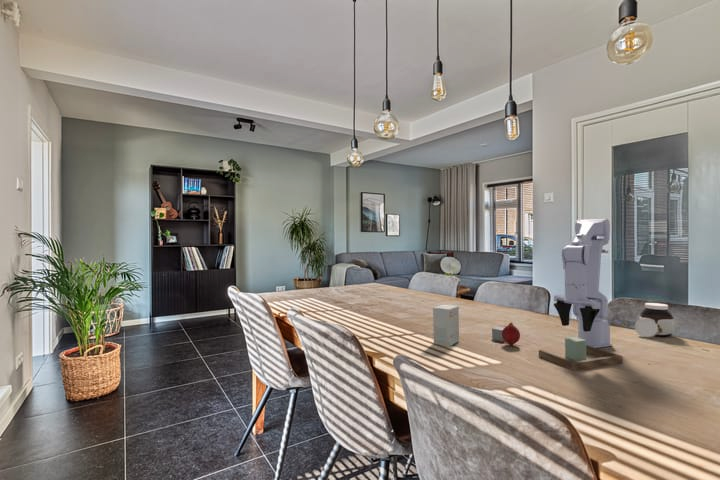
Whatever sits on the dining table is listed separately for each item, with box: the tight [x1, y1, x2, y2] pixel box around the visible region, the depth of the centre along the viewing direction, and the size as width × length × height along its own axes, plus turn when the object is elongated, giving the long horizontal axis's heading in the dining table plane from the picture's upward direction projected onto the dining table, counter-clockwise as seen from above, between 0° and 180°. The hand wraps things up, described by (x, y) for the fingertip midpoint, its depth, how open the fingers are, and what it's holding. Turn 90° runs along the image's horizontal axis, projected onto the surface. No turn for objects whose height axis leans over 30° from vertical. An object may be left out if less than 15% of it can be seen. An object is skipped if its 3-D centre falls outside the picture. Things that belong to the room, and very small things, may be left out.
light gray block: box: [491, 326, 505, 342], centre depth 135 cm, size 4×4×4 cm
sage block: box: [564, 336, 587, 361], centre depth 113 cm, size 4×4×6 cm
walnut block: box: [538, 345, 623, 371], centre depth 112 cm, size 18×13×2 cm
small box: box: [432, 304, 460, 347], centre depth 131 cm, size 8×6×13 cm
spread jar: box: [634, 302, 675, 338], centre depth 137 cm, size 12×11×12 cm
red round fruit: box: [502, 321, 521, 346], centre depth 127 cm, size 6×6×8 cm
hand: (575, 328), depth 113 cm, fingers open, 7 cm apart
